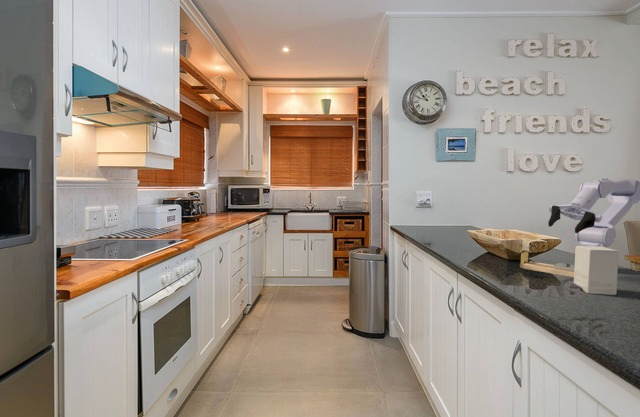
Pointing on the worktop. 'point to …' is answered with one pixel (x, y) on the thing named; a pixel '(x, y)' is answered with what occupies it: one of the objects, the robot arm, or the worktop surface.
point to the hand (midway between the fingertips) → (562, 227)
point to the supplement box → (596, 269)
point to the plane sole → (546, 268)
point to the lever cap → (564, 266)
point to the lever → (524, 258)
